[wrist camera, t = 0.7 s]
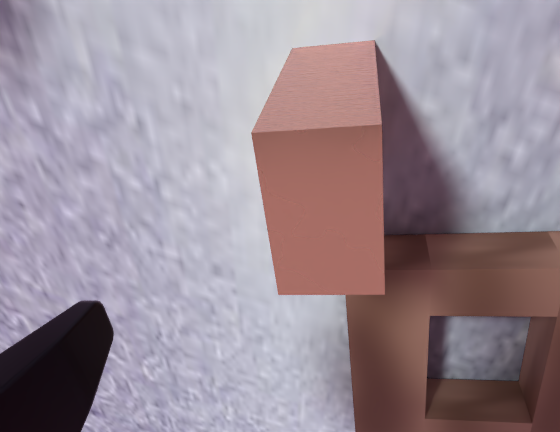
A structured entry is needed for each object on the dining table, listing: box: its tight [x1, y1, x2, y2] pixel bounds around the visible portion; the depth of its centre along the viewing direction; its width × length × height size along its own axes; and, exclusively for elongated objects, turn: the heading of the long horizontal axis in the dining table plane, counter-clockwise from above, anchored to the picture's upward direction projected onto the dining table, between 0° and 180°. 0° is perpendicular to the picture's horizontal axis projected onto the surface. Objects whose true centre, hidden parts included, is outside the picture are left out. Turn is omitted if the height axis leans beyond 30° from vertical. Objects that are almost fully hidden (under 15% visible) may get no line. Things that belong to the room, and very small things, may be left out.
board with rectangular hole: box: [346, 231, 560, 432], centre depth 23 cm, size 12×12×2 cm
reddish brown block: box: [251, 40, 385, 295], centre depth 16 cm, size 3×5×8 cm, turn 7°
